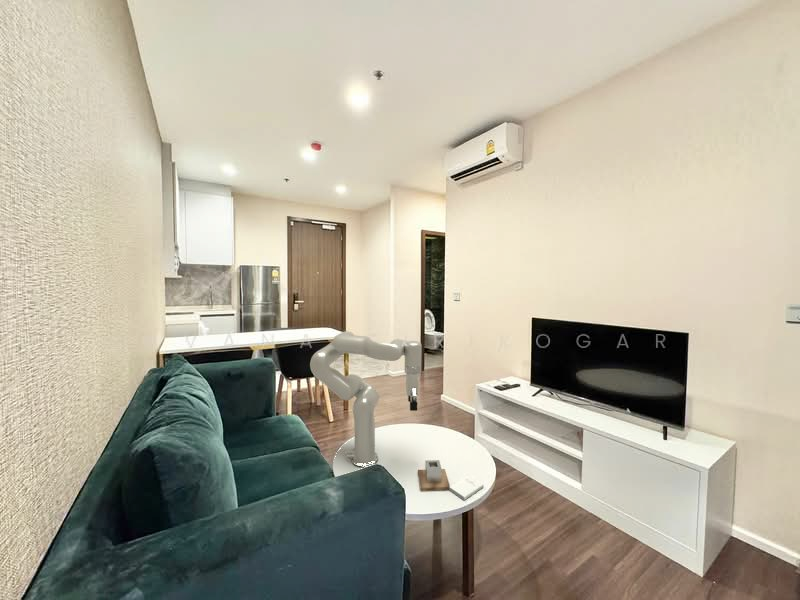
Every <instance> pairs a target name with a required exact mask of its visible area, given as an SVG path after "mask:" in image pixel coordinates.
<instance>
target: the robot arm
mask: <svg viewBox="0 0 800 600" xmlns="http://www.w3.org/2000/svg"><path fill="white" fill-rule="evenodd" d="M422 347H423V346H422V342H420V341H417V340H404V339H399V338H398V339H397V338H396V339H393V340H391V342H390V343H383V342H377V341H373V340H372V339H371V338H370V337H369V336H366V335H365V336H364V335H355V334H354V333H353V332H351V331H348V330H347V331H342V332H340V333H339V334H337V335H336V336H334V338H333V339H332V341H331V342H329V344H327V345H326V346H324V347H322V348H320V349H319V350H317V351H316V352H314V354H313V355H312V356H311V359H310V363H309V367H310V371H311V373H312V375H313V376H314V377H315V378H316V379H317V380H318V381H319V382H321V383H322V384H324V385H325V386H326V387H328V389H330V390H331V392H333V393H335V394H336V395H337V397H339V399H341V400H344V401H345V402H346V401H348V402H349V401H350V400H352V399H353V398H355V399H354V402H353V404H352V415H353V423H354V424H353V427H354V428H353V429H354V449H351V450H345V451H344V453H345V456H346V458H347V459H348V458H351V459H350V460H352V461H351V463H352V462H353V463H355V464H357V463H363V464H364V463H366V464H369V463H368V462H371V461H375V462H376V461H377V460H378V461H379V455H378V453H376V428H375V427H376V425H375V424H376V423H375V420H376V419H375V408H376V406H377V405H378V404H379V399H380V396H379V393H378V391H377V390H376V389H375V388H374V387H373V386H372V385H371V384H370V383H368V382H367V381H366V380H364V378H362V377H361V376H359V375H357V374H353V373H352V374H348V375H344V374H342V372H340V371H339V370H337V369H335V368H334V367H331V364H333V363H335V361H337V360H338V359H339V358H341V356H343V355H344V354H348V355H349V354H352V355H358V356H359V355H361V356H366V357H368V358H371V359H374V360H378V361H387V362H395V361H399V359H401V357H402V356H404V373H405V374H406V380H405V381H406V382H405V391H406V396H407V399H408V400H407V401H408V402H409V411H413V412H414V411H415V412H417V411H418V396H419V391H420V390H419V386H420V385H419V384H420V382H419V381H420V374H421V373H422V353H423V352H422ZM378 461H377V462H378ZM353 463H352V464H353ZM371 463H372V462H371ZM373 464H374V465H375V464H377V463H373ZM369 465H372V464H369ZM369 465H366V466H369ZM362 466H363V465H362ZM372 466H373V465H372ZM363 468H366V467H365V466H364V467H363Z"/></svg>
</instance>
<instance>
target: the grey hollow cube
mask: <svg viewBox="0 0 800 600" xmlns="http://www.w3.org/2000/svg"><path fill="white" fill-rule="evenodd" d="M424 465H425V468H424V470H425V475H426V480H427V483H432V482H441V476H442V469H443V468H442V464H441V461H440V460H439V459H430V460H425V463H424ZM432 465H435V466H436V467H431V466H432Z"/></svg>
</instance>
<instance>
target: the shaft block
mask: <svg viewBox="0 0 800 600" xmlns="http://www.w3.org/2000/svg"><path fill="white" fill-rule="evenodd" d="M431 467H436V466H435V465H432V466H431ZM417 475H418V476H417V477H418V482H419V487H420V488H419V489H420V492H437V491H438V492H439V491H441V492H443V491H449V487H450V486H451V485H450V482H449V478H448V475H447V471H446V469H445V468H442V476H441V482H432V483H427V480H426V475H425V469H417Z"/></svg>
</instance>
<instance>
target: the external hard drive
mask: <svg viewBox="0 0 800 600" xmlns="http://www.w3.org/2000/svg"><path fill="white" fill-rule="evenodd" d="M482 488H484V482H483V483H482V482H481V481H479V480H477V479H476V478H475V477H472V476H471V475H469V474H466V475H465V476H463V477H462V478H460V479H458V481H456V482H454V483H453V484H451V485H450V487H449V490H448V491H450V492H451V493H452V494H454V495H456V497H458V498H459V499H461V500H462V501H466V500H467V499H468V498H470V497H472V496H473V495H474V494H476V493H477V492H479V491H481V489H482Z"/></svg>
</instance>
